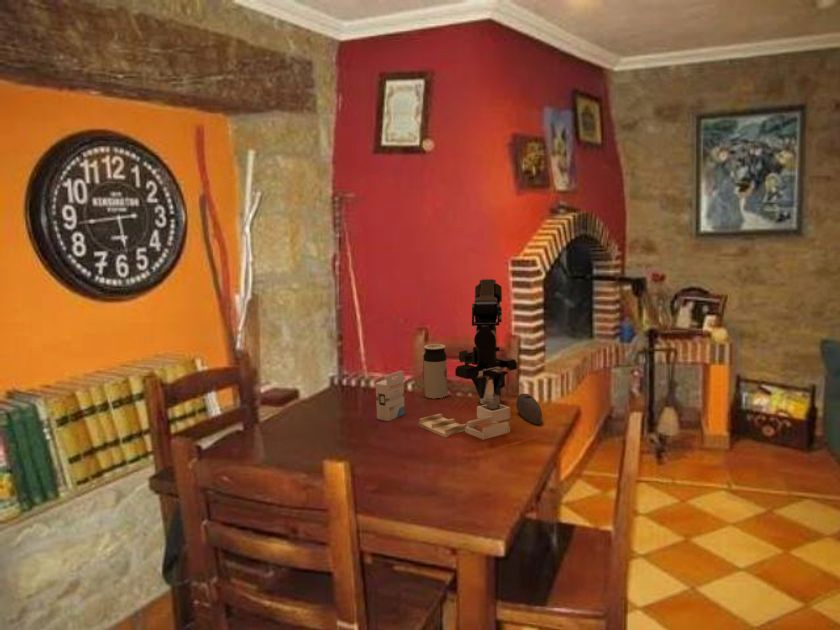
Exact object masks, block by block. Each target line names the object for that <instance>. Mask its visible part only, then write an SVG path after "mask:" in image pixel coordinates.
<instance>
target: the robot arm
mask: <svg viewBox="0 0 840 630" xmlns="http://www.w3.org/2000/svg"><path fill="white" fill-rule="evenodd" d="M502 302H503V291H502V286H501V285H500V284H499V283H497V280H496V279H491V278H490V279H484V278H483V279H481V280H479V283H478V284H477V285H476V286H475V287H474V303H472V304H471V327H475V326H476V328H475V335H474V339H473V341H474V345H475V346H473V347H472V351H471V352H468V351H467V350H461V351H458V359H459V362H460V363H464V364H460V365H457V366H456V367H455V370H454V371H455V377H459V378H461V379H465V380H471V381H472V383H473V384H474V387H475V389H476V392H477V394H478V398H479V399H480V398H481V399H483V396H484V391H485V383H486V377H485V376H490V377H492V378H494V396H495V394H496V395H499V396H500V404H501V405H504V402H503V401H501V399H502V398H501V394H502V393H501V392H502V391H501V389H503V388H505V387H506V375H508V371H514V370H515V371H516V370H518V362H517V360H516V359H514V358H509V357H507V356H504V357H497V356H498V355H497V352H500V351H501V350H500V347H499V346H497V326H500V323H502V310H503V308H502V306H501V303H502ZM505 368H507V370H508V371H505ZM477 404H479V405H481V406H482V405H486V404H482V403H480V401H477Z"/></svg>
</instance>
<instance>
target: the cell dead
mask: <svg viewBox="0 0 840 630" xmlns="http://www.w3.org/2000/svg"><path fill="white" fill-rule="evenodd" d="M487 409H488V410H491V411H495V410H499V409H500V396H499V395H496V394H495V396H494V403H493V404H487Z"/></svg>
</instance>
